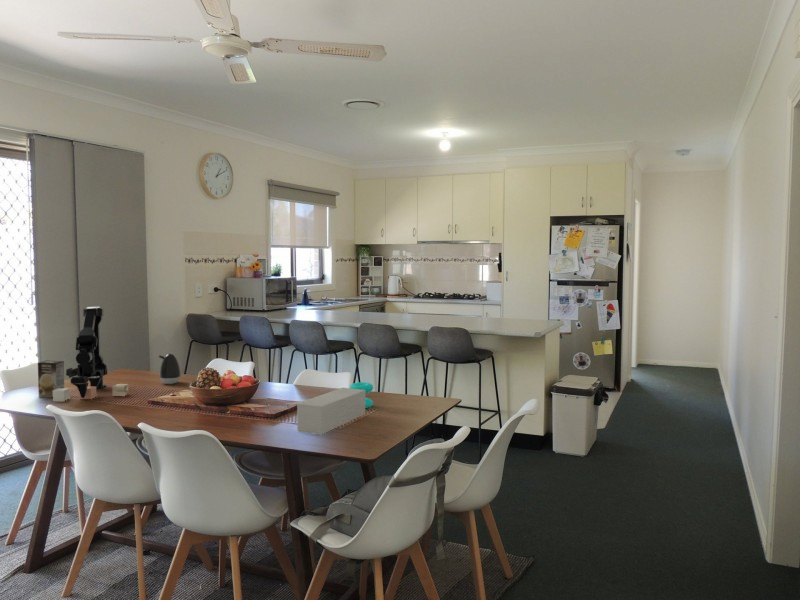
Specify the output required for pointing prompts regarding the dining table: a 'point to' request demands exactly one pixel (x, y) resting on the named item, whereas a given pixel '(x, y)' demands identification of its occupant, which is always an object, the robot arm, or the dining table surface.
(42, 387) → the coffee box
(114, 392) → the maple block
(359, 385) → the donuts
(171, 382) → the pump dispenser
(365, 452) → the dining table surface
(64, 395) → the offwhite block
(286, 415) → the dining table surface
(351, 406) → the stack of papers
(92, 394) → the terracotta block
